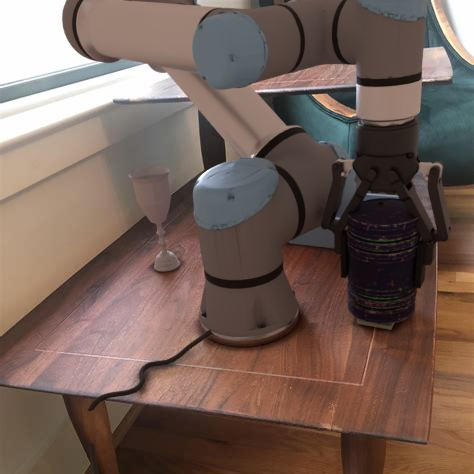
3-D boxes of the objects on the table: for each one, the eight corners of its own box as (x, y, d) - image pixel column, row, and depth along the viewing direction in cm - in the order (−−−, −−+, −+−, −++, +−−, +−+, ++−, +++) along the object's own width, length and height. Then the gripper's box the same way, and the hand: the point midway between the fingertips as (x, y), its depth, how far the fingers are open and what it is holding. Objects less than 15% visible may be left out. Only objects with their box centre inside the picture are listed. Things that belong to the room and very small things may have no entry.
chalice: (192, 259, 105) (176, 166, 96) (174, 275, 100) (156, 179, 91) (160, 255, 108) (142, 165, 99) (141, 271, 103) (120, 178, 94)
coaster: (391, 330, 78) (391, 326, 78) (356, 323, 80) (357, 320, 80) (403, 305, 83) (403, 302, 83) (371, 300, 85) (371, 297, 85)
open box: (384, 254, 98) (385, 223, 95) (289, 243, 106) (287, 214, 103) (403, 225, 108) (405, 195, 105) (315, 216, 116) (314, 189, 113)
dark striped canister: (422, 322, 76) (431, 222, 68) (351, 326, 77) (351, 228, 69) (408, 287, 84) (414, 194, 77) (343, 291, 86) (343, 200, 78)
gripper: (491, 110, 64) (469, 277, 76) (312, 110, 75) (317, 257, 86) (481, 127, 59) (460, 303, 71) (290, 124, 69) (299, 279, 81)
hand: (381, 278), depth 78 cm, fingers closed on dark striped canister, 10 cm apart
